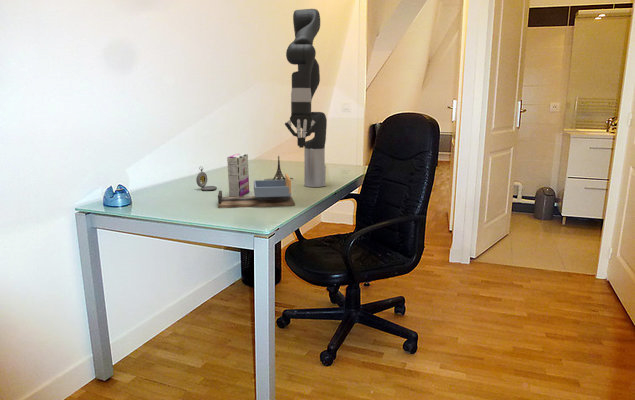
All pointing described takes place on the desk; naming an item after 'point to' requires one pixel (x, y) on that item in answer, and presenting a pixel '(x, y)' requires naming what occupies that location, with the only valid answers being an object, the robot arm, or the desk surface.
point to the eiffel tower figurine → (278, 173)
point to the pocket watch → (203, 178)
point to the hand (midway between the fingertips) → (301, 147)
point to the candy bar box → (238, 175)
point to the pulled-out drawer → (272, 188)
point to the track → (252, 201)
